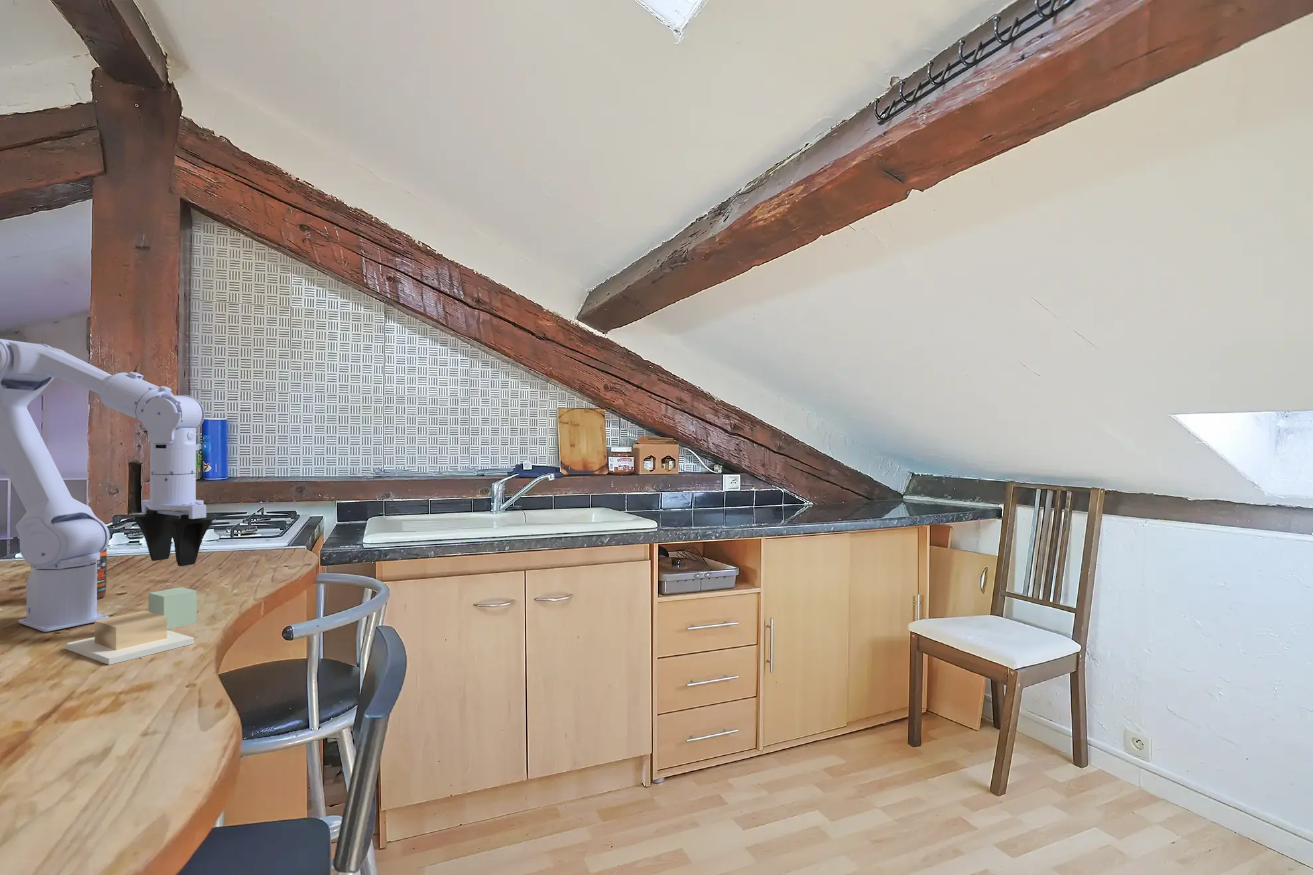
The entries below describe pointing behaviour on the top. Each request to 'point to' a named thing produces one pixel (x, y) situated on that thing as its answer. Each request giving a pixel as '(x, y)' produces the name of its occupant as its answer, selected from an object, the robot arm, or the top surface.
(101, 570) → the supplement bottle
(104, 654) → the build base
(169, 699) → the top surface
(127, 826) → the top surface
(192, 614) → the sage block
